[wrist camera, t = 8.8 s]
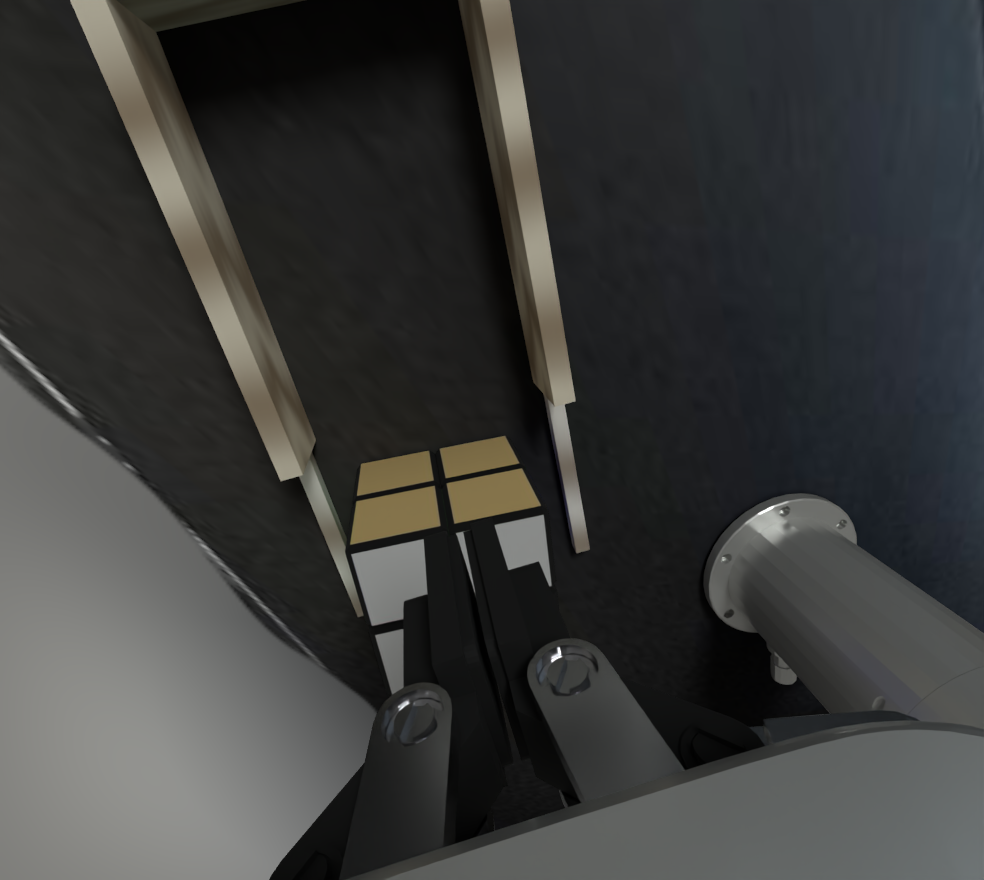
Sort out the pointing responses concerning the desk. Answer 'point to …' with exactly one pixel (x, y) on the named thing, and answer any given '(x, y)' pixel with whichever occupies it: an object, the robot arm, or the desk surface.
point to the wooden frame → (223, 269)
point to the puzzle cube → (436, 528)
